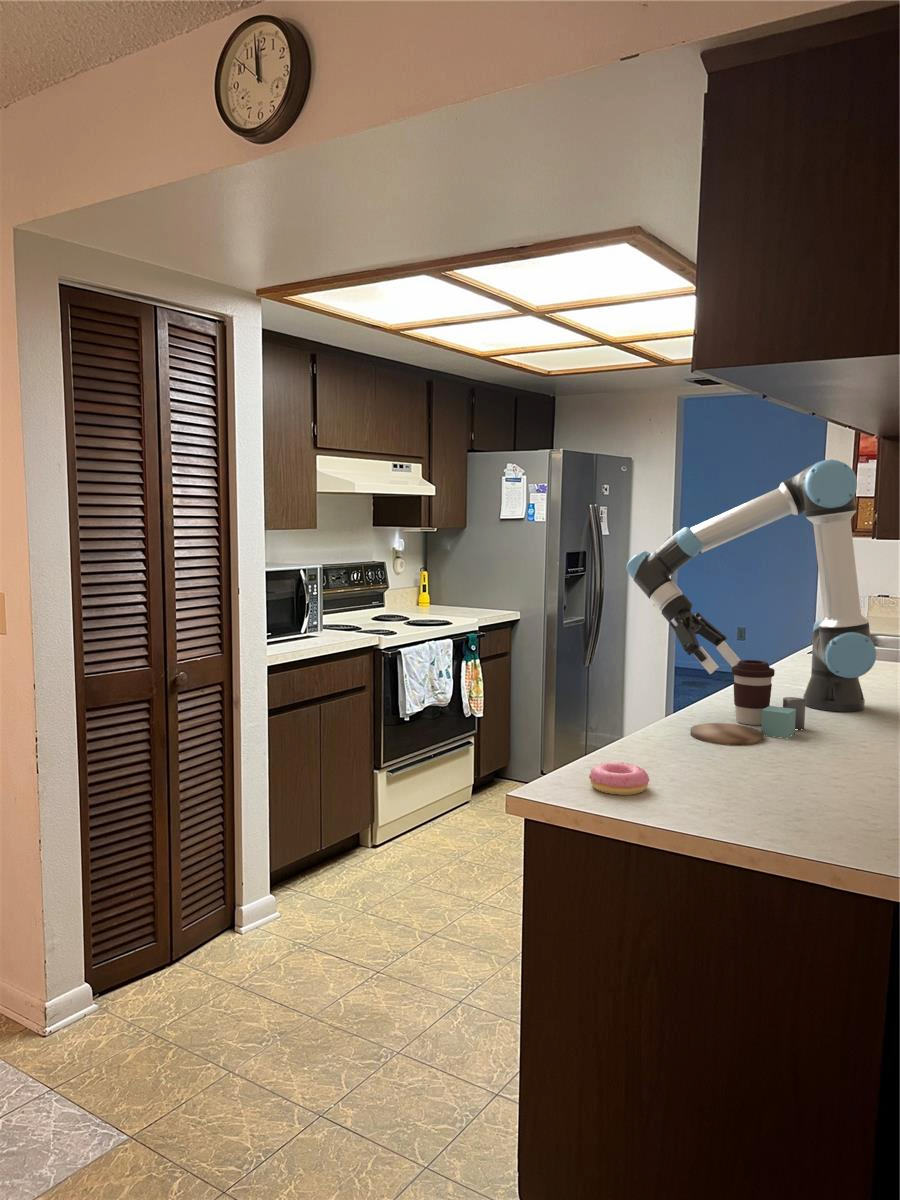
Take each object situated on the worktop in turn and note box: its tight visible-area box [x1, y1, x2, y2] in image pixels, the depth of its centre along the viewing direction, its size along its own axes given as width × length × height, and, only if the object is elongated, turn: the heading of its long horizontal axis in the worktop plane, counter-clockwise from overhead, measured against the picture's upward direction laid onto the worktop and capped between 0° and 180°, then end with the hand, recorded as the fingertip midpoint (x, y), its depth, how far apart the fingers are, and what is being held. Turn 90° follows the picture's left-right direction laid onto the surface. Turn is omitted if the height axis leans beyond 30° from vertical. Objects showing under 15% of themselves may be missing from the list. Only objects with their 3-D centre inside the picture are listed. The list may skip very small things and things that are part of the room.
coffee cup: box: [731, 659, 776, 726], centre depth 222 cm, size 10×10×15 cm
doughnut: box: [588, 762, 651, 796], centre depth 167 cm, size 11×11×4 cm
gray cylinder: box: [782, 696, 806, 731], centre depth 216 cm, size 5×5×7 cm
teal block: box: [760, 705, 796, 739], centre depth 209 cm, size 6×6×6 cm
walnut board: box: [690, 722, 765, 746], centre depth 208 cm, size 16×16×1 cm
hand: (726, 667), depth 225 cm, fingers open, 13 cm apart
